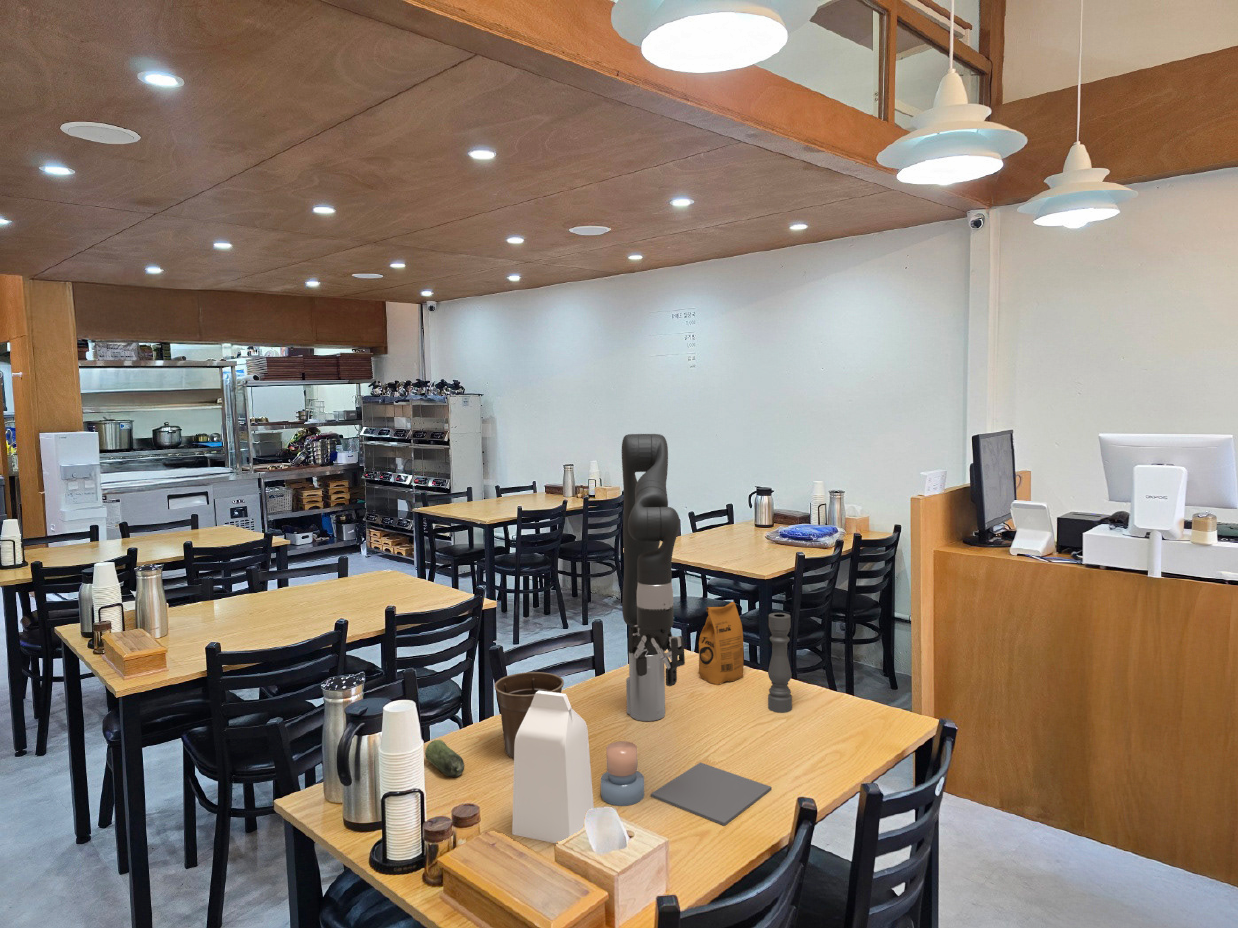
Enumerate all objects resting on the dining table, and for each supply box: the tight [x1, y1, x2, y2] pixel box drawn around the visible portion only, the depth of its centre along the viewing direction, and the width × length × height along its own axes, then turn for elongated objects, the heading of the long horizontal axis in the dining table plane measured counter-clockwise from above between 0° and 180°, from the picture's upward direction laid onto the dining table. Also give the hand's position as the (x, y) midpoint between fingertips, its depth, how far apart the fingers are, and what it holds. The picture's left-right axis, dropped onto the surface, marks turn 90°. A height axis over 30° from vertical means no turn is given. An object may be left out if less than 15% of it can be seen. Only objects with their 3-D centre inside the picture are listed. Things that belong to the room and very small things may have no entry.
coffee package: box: [698, 601, 744, 686], centre depth 227 cm, size 10×12×22 cm
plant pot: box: [494, 671, 565, 759], centre depth 181 cm, size 16×16×16 cm
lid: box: [605, 740, 639, 776], centre depth 159 cm, size 6×6×4 cm
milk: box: [511, 691, 595, 844], centre depth 148 cm, size 12×12×26 cm
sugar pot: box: [600, 770, 645, 807], centre depth 159 cm, size 9×9×6 cm
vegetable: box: [424, 739, 465, 778], centre depth 173 cm, size 14×5×5 cm, turn 37°
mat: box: [650, 761, 772, 827], centre depth 159 cm, size 18×18×1 cm
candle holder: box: [767, 612, 793, 714], centre depth 203 cm, size 6×6×25 cm
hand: (656, 680), depth 159 cm, fingers open, 8 cm apart
